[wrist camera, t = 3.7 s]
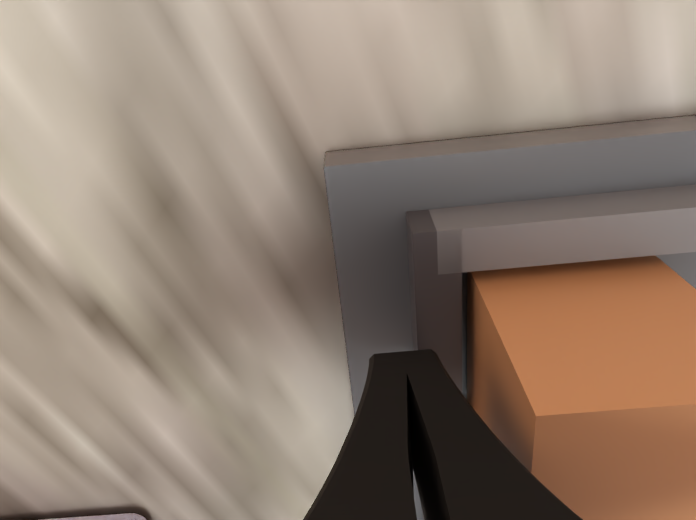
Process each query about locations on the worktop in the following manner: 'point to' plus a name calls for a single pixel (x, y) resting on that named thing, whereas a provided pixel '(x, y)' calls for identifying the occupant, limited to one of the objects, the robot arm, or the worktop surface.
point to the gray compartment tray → (496, 223)
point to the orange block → (591, 381)
